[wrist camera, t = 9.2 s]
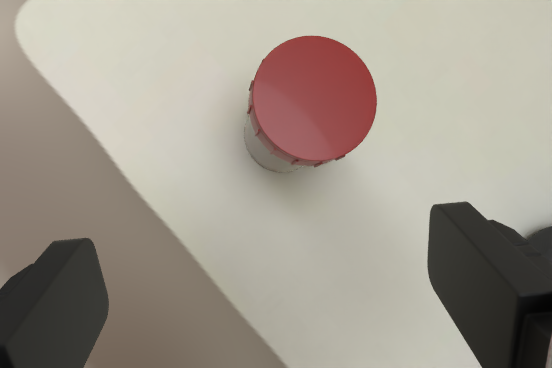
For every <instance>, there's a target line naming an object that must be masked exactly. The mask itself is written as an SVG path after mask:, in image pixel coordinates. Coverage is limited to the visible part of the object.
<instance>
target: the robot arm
mask: <svg viewBox="0 0 552 368" xmlns="http://www.w3.org/2000/svg"><path fill="white" fill-rule="evenodd" d="M428 274H429V278H430V282H431V285H432V287H433V289H434V291H435V292H436V294H437V295H438V297H439V299H440V300H441V302H442V304H443V305H444V307H445V308H446V310H447V312H448V313H449V315H450V316H451V318H452V320H453V321H454V323H455V324H456V326H457V328H458V329H459V331H460V333H461V334H462V336H463V337H464V339H465V341H466V342H467V344H468V345H469V347H470V349H471V350H472V352H473V353H474V355H475V357H476V358H477V360H478V362H479V363H480V365H481V366H482V368H552V262H550V261H549V260H548V259H547V258H546V257H545V256H544V255H542V256H541V255H540V252H539V251H538V250H537V249H536V248H534V247H533V246H532V245H529V244H528V241H526V240H525V239H524V238H523V237H522V236H521V235H520V234H518V233H517V232H516V231H515V230H514V229H512V228H509V227H507V226H505V225H503V224H501V223H499V222H496V221H494V220H487V219H486V218H485V217H484V216H482V215H481V214H480V213H479V212H478V211H477V210H476V209H475V208H474V207H473V206H472V205H471V204H470V203H468V202H457V203H446V204H435V205H433V206H432V208H431V211H430V222H429V242H428ZM108 306H109V301H108V294H107V290H106V286H105V282H104V279H103V275H102V272H101V268H100V264H99V260H98V257H97V253H96V249H95V246H94V244H93V242H92V241H91V240H90V239H89V238H81V239H70V240H59V241H54V242H52V243H51V244H50V246H49V247H48V248H47V249H46V250H45V251H44V252H43V254H42V255H41V256H40V257H39V258H38V259H37V260H36V262H35V263H34V264H31V265H29V266H28V267H26V268H25V269H23V270H22V271H20V272H18V273H17V274H16V275H14V276H12V277H11V278H10V279H9V280H8V281H7V282H6V283H5V284H4V286H3V287H2V288H1V289H0V368H83V367H84V365H85V363H86V361H87V359H88V357H89V354H90V353H91V350H92V349H93V346H94V344H95V342H96V340H97V338H98V336H99V334H100V332H101V330H102V328H103V326H104V323H105V321H106V319H107V315H108Z"/></svg>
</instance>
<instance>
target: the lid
mask: <svg viewBox="0 0 552 368" xmlns="http://www.w3.org/2000/svg"><path fill="white" fill-rule="evenodd" d="M249 91H250V95H249V108H248V111H247V114H249V117H250V121H251V124H252V127H253V129H254V132H255V134H254V135H255V137H256V136H257V137H258V139H259V140H260V141H261V143H262V144H263V145H264V146H265V147H266V148H267V149H268V150H269V151H270V154H271V155H272V154H274V155H275V156H277V157H278V158H280V159H282V160H284V161H286V162H289V163H291V165H294V164H295V165H302V166H314V167H317V166H319V165H321V164H325V163H327V162H330V161H332V160H338V159H341V158H343V157H345V154H347V153H349V152H350V151H352V150H353V149H354V148H356V147H357V146H358V145H359V144H360V143H361V142H362V141H363V139H364V138H365V137H366V135H367V134H368V132H369V130H370V128H371V126H372V124H373V121H374V118H375V114H376V106H377V97H376V90H375V85H374V82H373V79H372V76H371V74H370V72H369V70H368V68H367V67H366V65H365V64H364V62H363V61H362V60H361V59H360V58H359V56H358V55H357V54H356V53H354V52H353V51H352V50H351V49H350V48H348V47H347V46H345V45H344V44H342V43H340V42H338V41H335V40H333V39H330V38H326V37H321V36H302V37H297V38H294V39H291V40H288V41H286V42H284V43H282V44H280V45H279V46H277V47H276V48H274V49H273V50H272V51H271V52H270V53H269V54H268V55H267V56H266V58H265V59H263V60H262V63H261V65H260V66H259V68H258V71H257V73H256V75H255V78H254V81H253V80H252V82H251V85H250V88H249Z"/></svg>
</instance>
